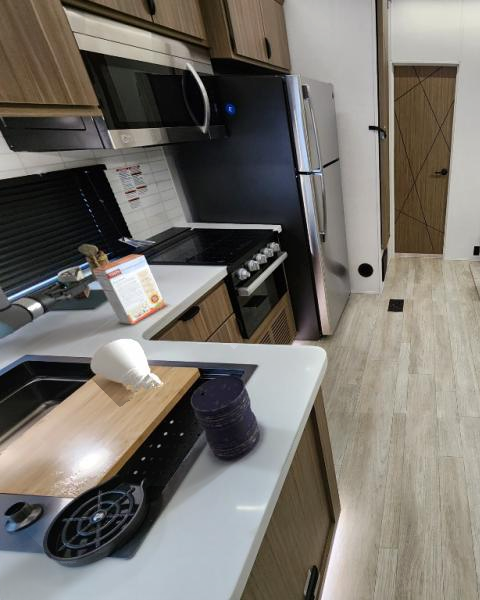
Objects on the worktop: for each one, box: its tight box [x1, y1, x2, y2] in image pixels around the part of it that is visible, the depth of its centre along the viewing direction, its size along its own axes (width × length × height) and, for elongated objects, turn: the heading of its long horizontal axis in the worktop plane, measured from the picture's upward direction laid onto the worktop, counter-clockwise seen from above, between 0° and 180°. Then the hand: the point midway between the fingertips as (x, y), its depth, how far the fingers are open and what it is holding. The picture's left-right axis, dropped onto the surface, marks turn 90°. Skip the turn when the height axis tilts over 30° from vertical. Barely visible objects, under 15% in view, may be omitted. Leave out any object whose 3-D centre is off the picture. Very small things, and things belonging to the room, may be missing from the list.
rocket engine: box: [90, 338, 164, 393], centre depth 87 cm, size 12×12×18 cm
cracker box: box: [93, 253, 166, 325], centre depth 116 cm, size 14×6×21 cm, turn 165°
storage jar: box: [190, 375, 261, 462], centre depth 69 cm, size 10×10×15 cm
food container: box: [57, 265, 91, 299], centre depth 130 cm, size 12×6×10 cm, turn 35°
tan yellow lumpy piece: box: [77, 243, 111, 281], centre depth 145 cm, size 9×14×18 cm, turn 33°
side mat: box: [51, 288, 109, 311], centre depth 131 cm, size 20×16×1 cm
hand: (86, 277), depth 132 cm, fingers closed on food container, 5 cm apart
